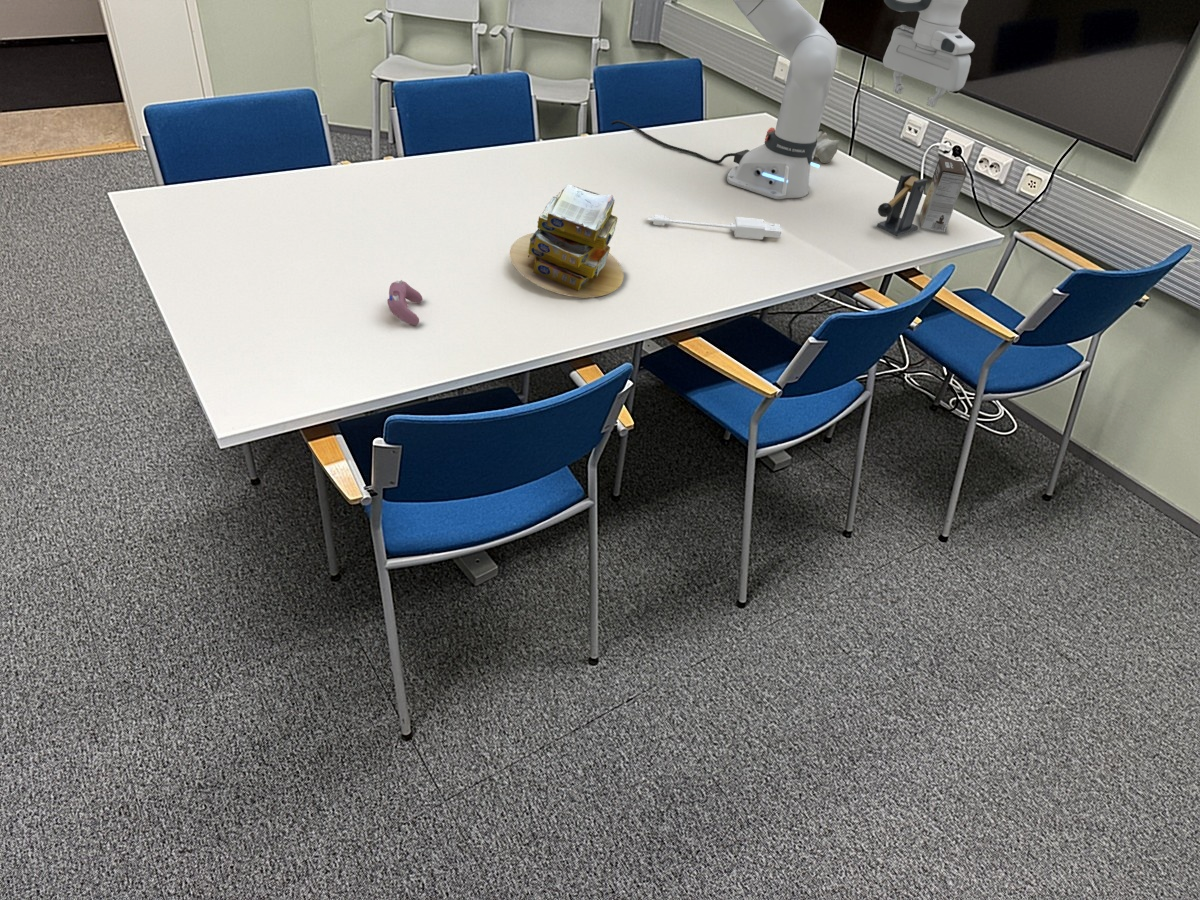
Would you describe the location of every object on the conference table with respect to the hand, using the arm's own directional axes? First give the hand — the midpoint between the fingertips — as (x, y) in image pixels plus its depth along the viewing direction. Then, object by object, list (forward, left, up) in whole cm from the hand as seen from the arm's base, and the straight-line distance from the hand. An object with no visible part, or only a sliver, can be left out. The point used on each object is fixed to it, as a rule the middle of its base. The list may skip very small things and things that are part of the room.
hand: (913, 99), depth 202 cm
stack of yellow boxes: (-58, -61, -34) cm, 91 cm away
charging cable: (-35, -22, -34) cm, 53 cm away
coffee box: (+14, +16, -34) cm, 40 cm away
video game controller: (-78, -94, -34) cm, 127 cm away
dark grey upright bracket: (+6, +7, -33) cm, 35 cm away
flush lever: (+4, +4, -25) cm, 26 cm away
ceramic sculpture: (-23, +46, -34) cm, 62 cm away
